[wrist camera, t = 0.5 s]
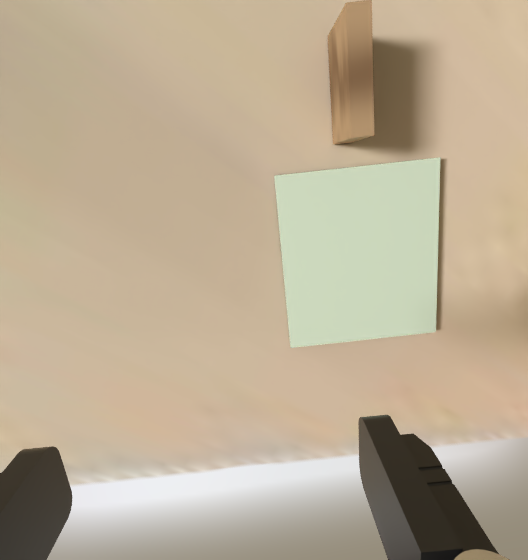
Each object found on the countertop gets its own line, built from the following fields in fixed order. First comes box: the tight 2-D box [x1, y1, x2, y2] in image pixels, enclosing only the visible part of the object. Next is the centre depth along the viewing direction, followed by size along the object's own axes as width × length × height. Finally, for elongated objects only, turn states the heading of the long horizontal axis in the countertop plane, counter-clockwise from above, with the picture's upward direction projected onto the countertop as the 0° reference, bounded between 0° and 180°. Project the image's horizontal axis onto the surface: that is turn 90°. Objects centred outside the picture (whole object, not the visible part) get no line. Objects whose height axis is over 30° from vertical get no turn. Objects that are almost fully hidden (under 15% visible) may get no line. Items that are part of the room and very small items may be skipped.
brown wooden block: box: [328, 0, 374, 144], centre depth 27 cm, size 8×2×6 cm, turn 6°
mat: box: [274, 158, 440, 348], centre depth 34 cm, size 16×14×1 cm
